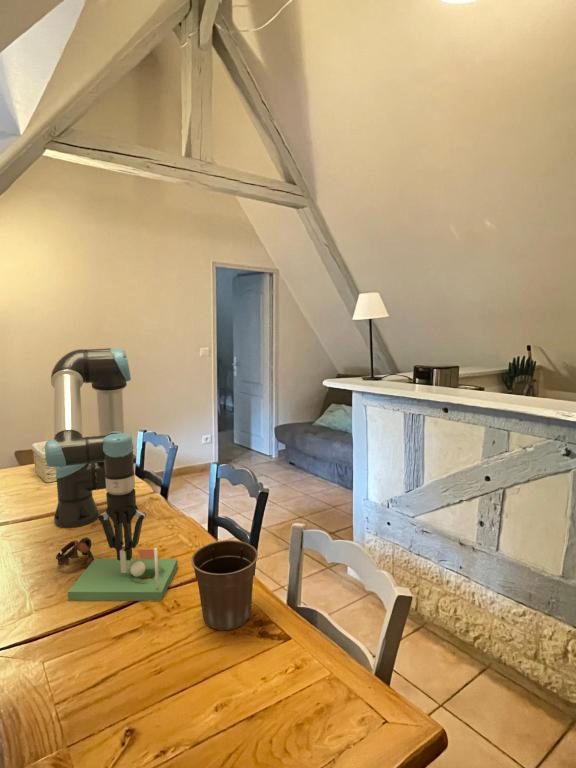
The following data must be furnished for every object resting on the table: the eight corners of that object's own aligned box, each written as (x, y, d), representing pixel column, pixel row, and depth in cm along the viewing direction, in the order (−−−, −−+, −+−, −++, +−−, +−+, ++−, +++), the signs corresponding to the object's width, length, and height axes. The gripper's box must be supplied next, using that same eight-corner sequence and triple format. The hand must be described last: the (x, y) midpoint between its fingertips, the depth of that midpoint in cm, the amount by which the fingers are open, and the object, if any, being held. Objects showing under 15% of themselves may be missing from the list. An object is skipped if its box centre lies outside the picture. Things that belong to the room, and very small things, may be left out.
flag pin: (142, 596, 124) (139, 547, 122) (159, 596, 124) (157, 547, 122) (141, 598, 123) (138, 549, 121) (159, 598, 123) (156, 549, 121)
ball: (147, 573, 132) (133, 571, 132) (147, 559, 131) (134, 558, 131) (141, 580, 128) (127, 578, 128) (142, 566, 127) (128, 564, 127)
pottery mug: (88, 574, 136) (71, 554, 133) (64, 584, 138) (46, 565, 136) (105, 545, 147) (89, 526, 145) (82, 555, 149) (66, 536, 147)
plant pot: (204, 646, 105) (202, 580, 103) (185, 607, 119) (183, 549, 117) (269, 624, 113) (268, 562, 110) (244, 590, 127) (243, 535, 125)
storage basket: (32, 471, 226) (30, 442, 224) (68, 465, 236) (66, 437, 234) (44, 485, 208) (41, 453, 206) (81, 477, 218) (79, 447, 216)
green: (68, 600, 122) (67, 591, 122) (95, 566, 139) (94, 558, 139) (161, 600, 122) (161, 592, 122) (177, 566, 139) (177, 558, 139)
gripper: (91, 495, 123) (96, 577, 126) (139, 495, 123) (143, 577, 126) (102, 485, 131) (107, 563, 134) (148, 485, 130) (152, 563, 134)
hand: (125, 570), depth 130 cm, fingers closed
